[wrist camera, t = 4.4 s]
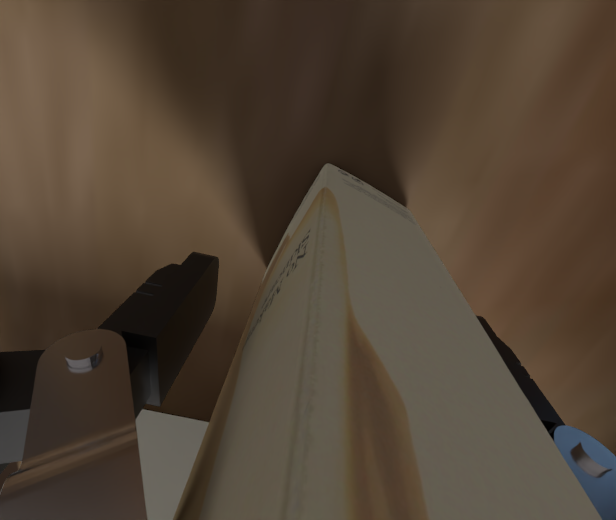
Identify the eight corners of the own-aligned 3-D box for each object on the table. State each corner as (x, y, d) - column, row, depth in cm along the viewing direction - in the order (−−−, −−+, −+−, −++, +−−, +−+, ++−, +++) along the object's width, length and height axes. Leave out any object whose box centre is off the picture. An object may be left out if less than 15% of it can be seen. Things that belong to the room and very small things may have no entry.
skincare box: (325, 157, 12) (269, 712, 1) (412, 208, 13) (873, 828, 2) (261, 274, 15) (78, 736, 4) (335, 310, 16) (345, 778, 5)
